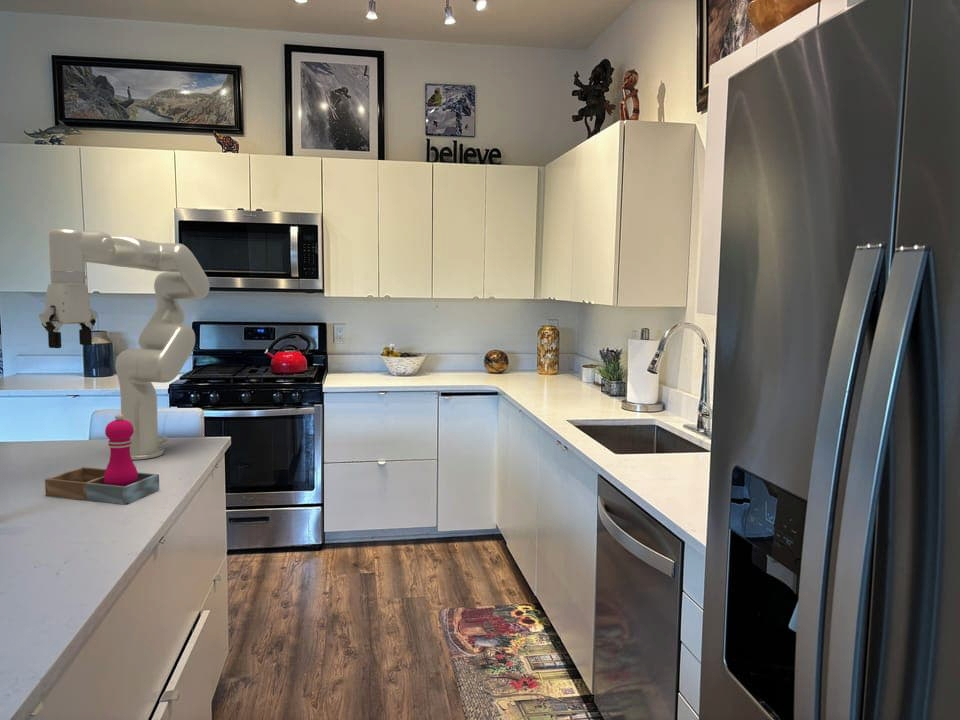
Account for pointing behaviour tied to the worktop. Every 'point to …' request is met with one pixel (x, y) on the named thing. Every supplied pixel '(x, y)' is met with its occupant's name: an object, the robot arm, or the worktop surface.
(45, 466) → the worktop surface
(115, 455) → the pepper mill
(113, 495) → the organizer
